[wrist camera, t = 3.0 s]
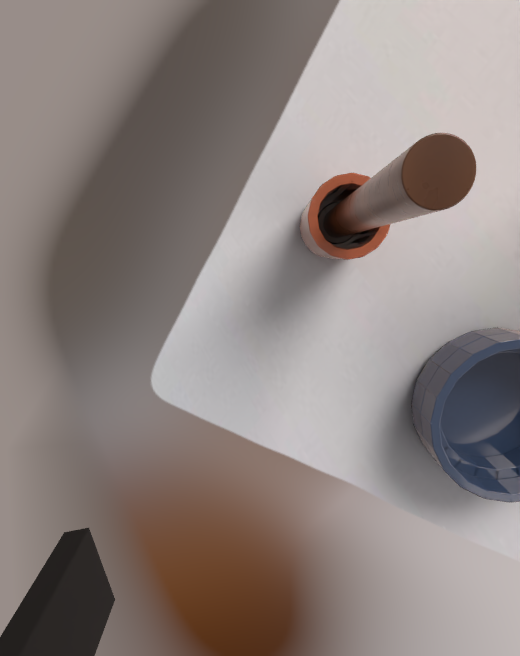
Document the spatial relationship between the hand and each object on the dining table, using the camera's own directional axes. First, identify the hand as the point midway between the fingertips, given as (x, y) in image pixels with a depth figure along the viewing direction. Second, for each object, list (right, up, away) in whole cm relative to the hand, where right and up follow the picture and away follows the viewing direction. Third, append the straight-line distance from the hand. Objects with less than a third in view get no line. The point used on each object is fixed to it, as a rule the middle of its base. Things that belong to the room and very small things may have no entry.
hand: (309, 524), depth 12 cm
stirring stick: (+5, +15, +24) cm, 29 cm away
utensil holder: (+5, +15, +25) cm, 30 cm away
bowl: (+21, -1, +28) cm, 34 cm away
